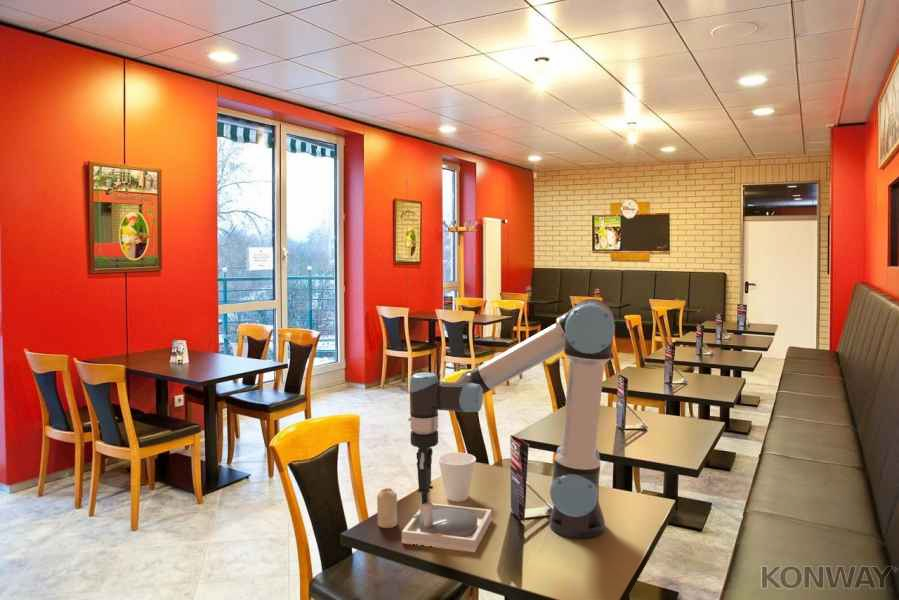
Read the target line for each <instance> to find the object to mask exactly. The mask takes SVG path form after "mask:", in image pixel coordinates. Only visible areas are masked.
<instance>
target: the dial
mask: <svg viewBox="0 0 899 600" xmlns="http://www.w3.org/2000/svg"><path fill="white" fill-rule="evenodd" d="M432 503H433V502H430V503H424V514H423V515H422V516H421V517H420V519H419V529H420V531H421V532H424V533H432V534H435V533H441V534H442V535H449V536H457V537H468V536H470V535H472V534H473V533H475V531H476V530H477V517H476V516H475V515H474V514H473V513H471V512H469V511H466V510H462V509H457V508H441V509H435V510H433V504H432Z"/></svg>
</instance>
